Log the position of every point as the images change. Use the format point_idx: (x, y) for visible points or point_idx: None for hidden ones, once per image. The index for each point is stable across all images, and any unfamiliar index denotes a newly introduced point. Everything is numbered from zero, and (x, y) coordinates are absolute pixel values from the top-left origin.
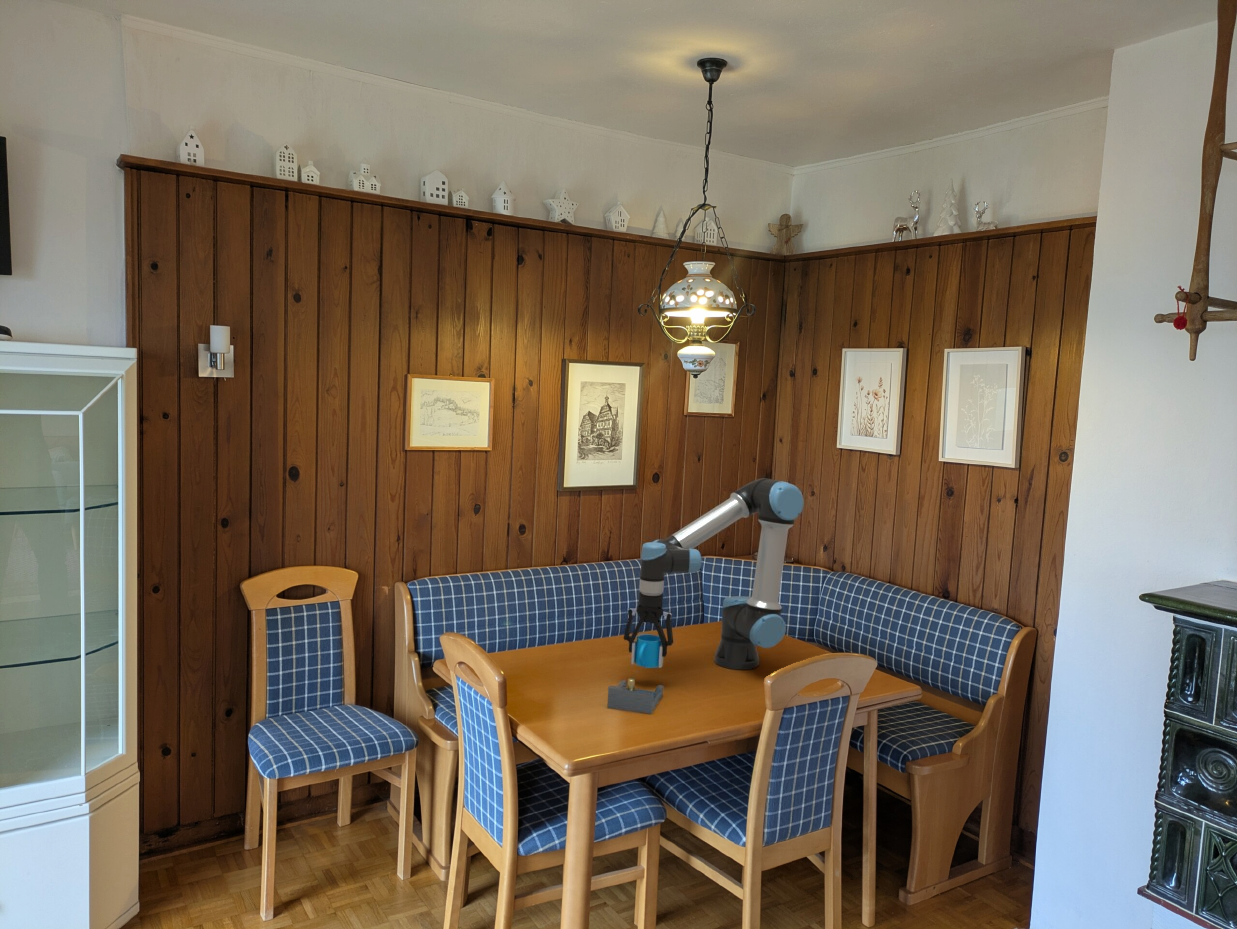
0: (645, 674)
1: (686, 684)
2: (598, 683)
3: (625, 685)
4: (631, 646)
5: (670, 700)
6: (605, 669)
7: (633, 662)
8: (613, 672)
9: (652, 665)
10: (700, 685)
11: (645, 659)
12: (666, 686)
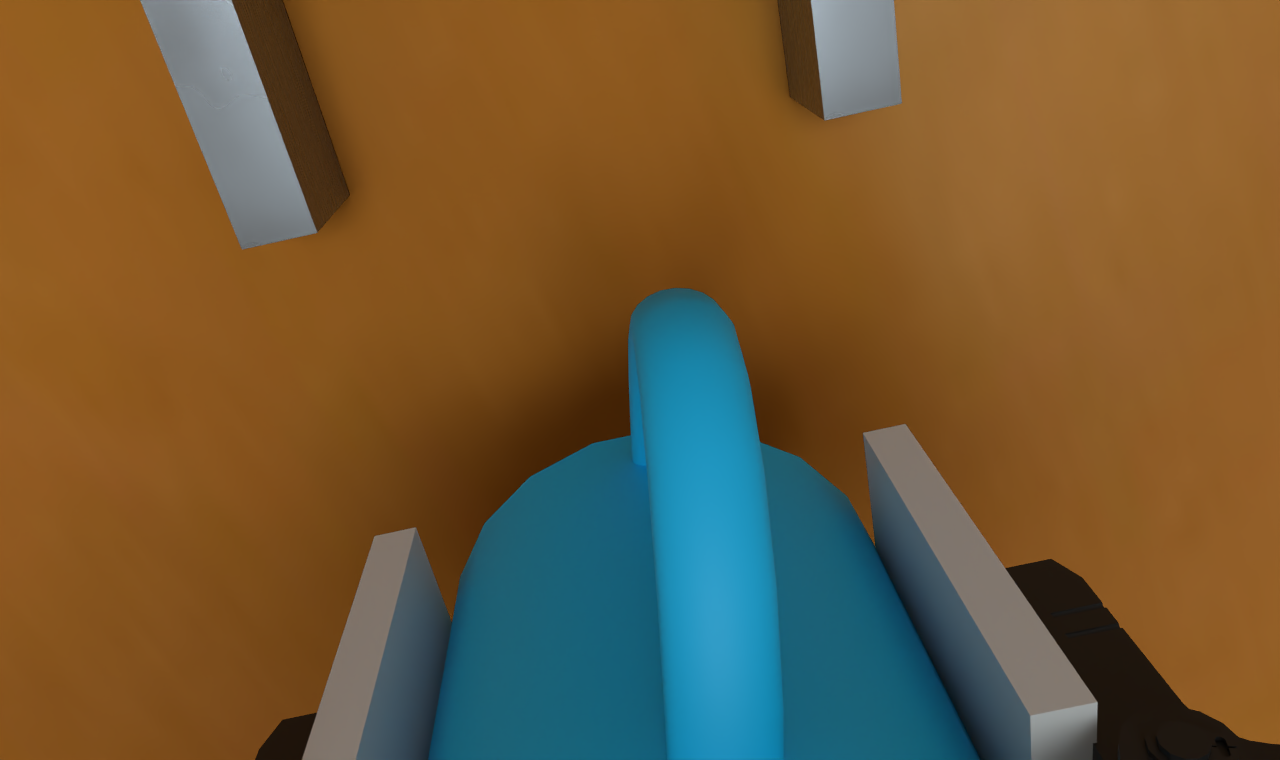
0: None
1: (273, 675)
2: (1211, 128)
3: (804, 53)
4: (1075, 660)
5: (82, 83)
6: (1232, 588)
7: (873, 448)
8: (1127, 559)
9: (517, 509)
10: (137, 726)
11: (644, 512)
12: (419, 509)
